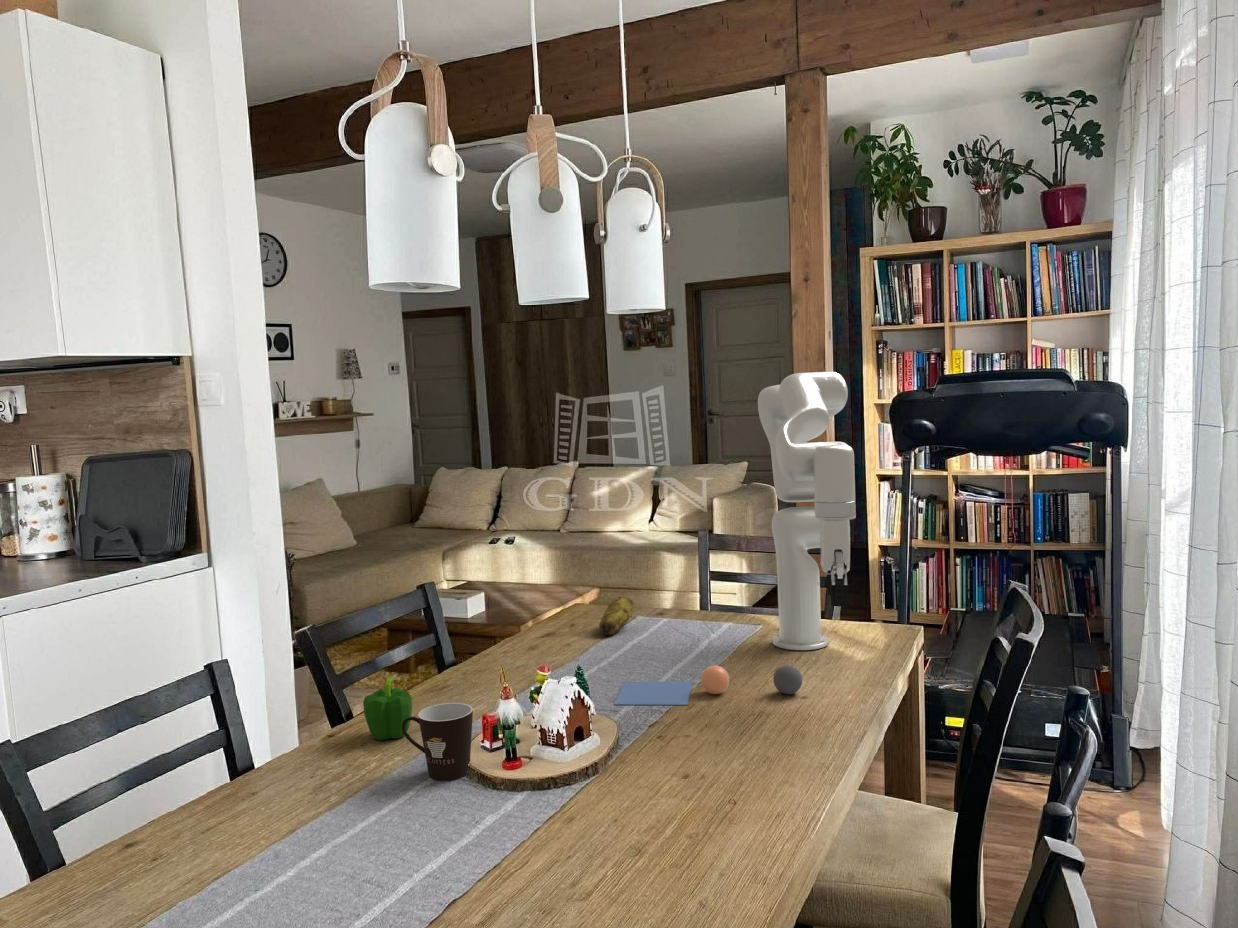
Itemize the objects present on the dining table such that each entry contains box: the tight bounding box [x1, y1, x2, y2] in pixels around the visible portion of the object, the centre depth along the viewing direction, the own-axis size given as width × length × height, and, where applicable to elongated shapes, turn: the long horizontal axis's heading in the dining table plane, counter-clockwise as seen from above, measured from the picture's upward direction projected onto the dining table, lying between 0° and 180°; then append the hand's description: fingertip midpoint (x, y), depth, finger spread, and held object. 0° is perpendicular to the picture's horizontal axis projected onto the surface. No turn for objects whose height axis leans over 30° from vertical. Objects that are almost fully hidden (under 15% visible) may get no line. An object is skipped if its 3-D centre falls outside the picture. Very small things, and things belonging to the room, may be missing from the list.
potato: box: [598, 596, 635, 636], centre depth 235 cm, size 8×13×8 cm, turn 137°
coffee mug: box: [402, 702, 474, 782], centre depth 150 cm, size 12×9×10 cm
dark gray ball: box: [772, 664, 803, 695], centre depth 181 cm, size 6×6×6 cm
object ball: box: [700, 665, 730, 695], centre depth 183 cm, size 6×6×6 cm
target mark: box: [614, 681, 693, 706], centre depth 185 cm, size 14×14×1 cm
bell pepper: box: [362, 677, 413, 741], centre depth 167 cm, size 8×8×10 cm
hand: (837, 600), depth 178 cm, fingers open, 9 cm apart
